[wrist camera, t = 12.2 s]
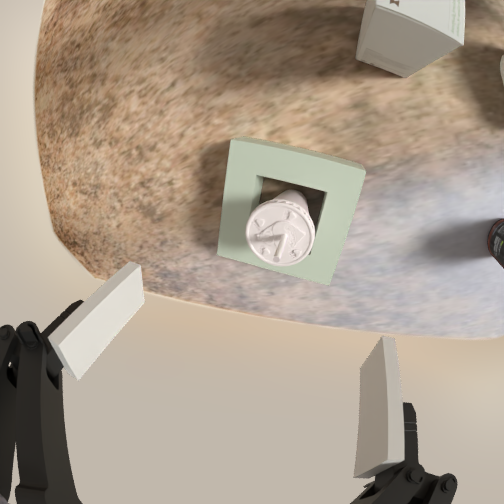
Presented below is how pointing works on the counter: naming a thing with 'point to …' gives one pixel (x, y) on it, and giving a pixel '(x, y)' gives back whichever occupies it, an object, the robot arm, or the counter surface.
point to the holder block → (298, 172)
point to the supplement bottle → (497, 242)
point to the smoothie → (281, 229)
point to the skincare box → (409, 33)
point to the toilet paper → (502, 68)
